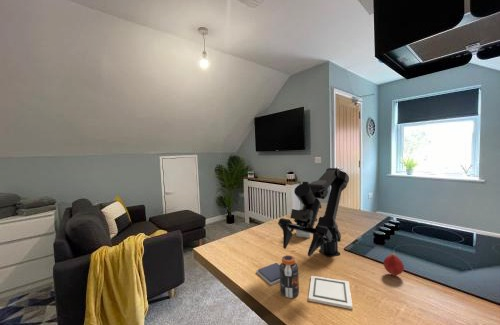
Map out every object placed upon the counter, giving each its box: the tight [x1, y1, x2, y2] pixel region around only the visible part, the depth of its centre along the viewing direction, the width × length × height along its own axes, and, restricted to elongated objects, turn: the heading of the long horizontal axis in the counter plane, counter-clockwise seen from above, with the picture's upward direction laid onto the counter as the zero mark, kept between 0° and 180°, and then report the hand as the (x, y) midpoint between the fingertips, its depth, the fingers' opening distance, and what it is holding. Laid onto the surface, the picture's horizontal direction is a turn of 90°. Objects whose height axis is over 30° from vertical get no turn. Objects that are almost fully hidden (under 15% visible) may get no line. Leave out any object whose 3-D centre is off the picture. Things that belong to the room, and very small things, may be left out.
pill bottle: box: [279, 255, 300, 299], centre depth 67 cm, size 6×6×11 cm
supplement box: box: [295, 222, 312, 239], centre depth 112 cm, size 7×7×13 cm
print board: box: [307, 275, 354, 310], centre depth 66 cm, size 12×12×1 cm
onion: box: [383, 253, 405, 277], centre depth 73 cm, size 6×6×8 cm
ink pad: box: [256, 262, 280, 286], centre depth 77 cm, size 10×10×1 cm
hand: (295, 252), depth 70 cm, fingers open, 9 cm apart
